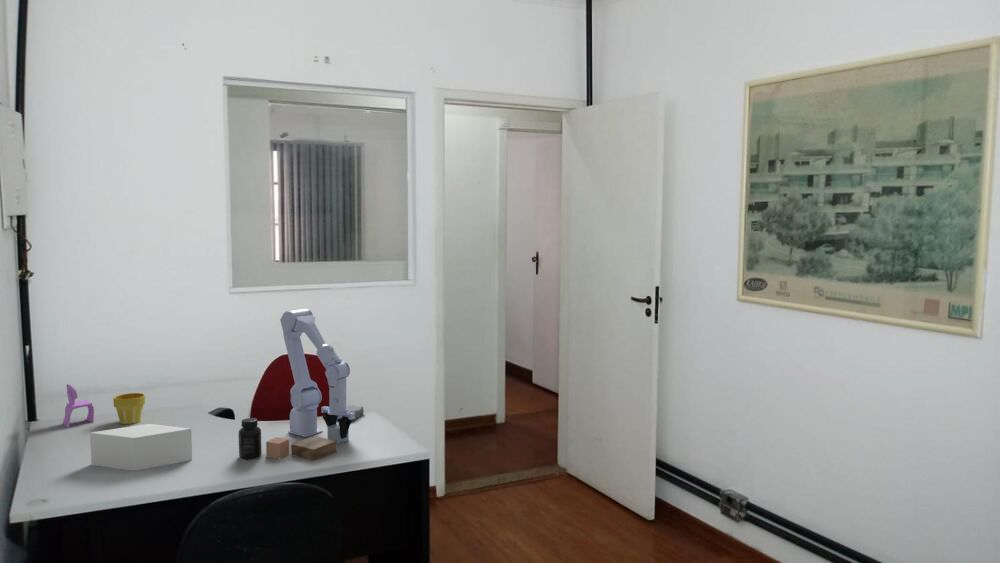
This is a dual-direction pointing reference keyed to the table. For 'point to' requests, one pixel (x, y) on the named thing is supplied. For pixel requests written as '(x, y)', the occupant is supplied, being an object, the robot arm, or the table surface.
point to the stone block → (354, 411)
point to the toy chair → (76, 406)
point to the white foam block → (141, 446)
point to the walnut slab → (313, 448)
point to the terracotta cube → (277, 447)
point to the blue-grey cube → (336, 433)
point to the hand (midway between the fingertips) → (338, 436)
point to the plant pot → (129, 407)
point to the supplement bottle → (249, 439)
